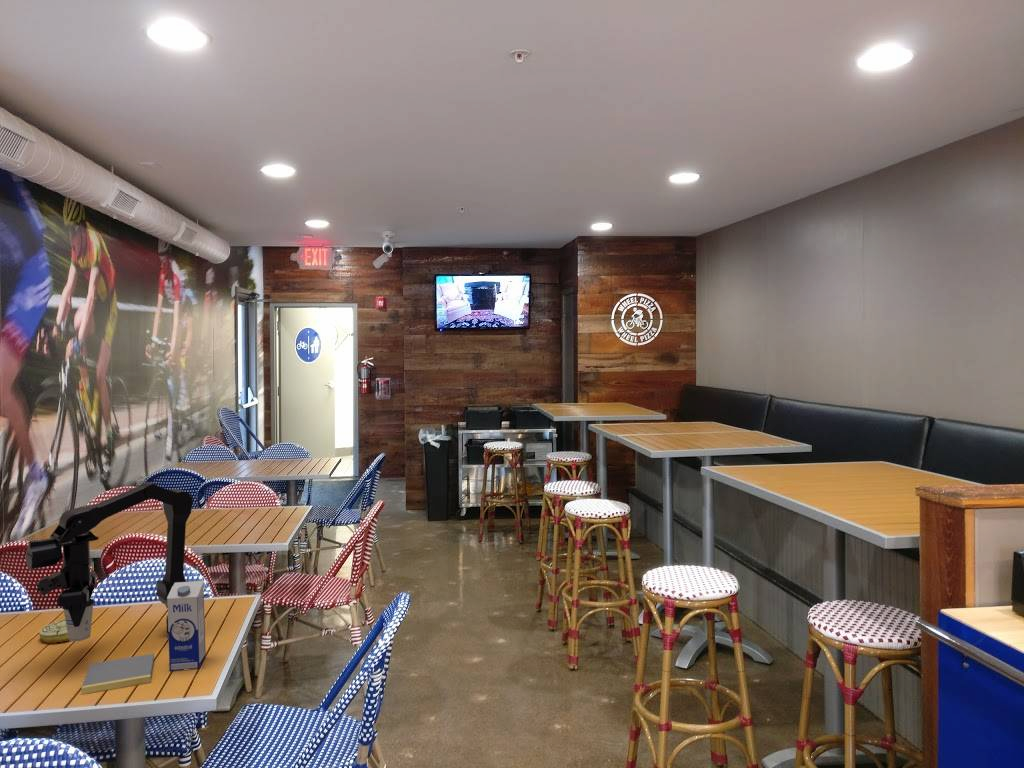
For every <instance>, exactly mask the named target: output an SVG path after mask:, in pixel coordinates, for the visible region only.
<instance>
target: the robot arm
mask: <svg viewBox="0 0 1024 768" xmlns="http://www.w3.org/2000/svg"><path fill="white" fill-rule="evenodd" d="M151 499H153V500H155V501H157V502H161V503H162V506H163V512H164V513H163V514H164V516H165V519H166V522H167V532H166V534H167V535H166V551H165V553H166V555H165V569H164V571H165V572H164V573H165V574H164V576H162V577H163V578H162V579H161V580H159V579H157V580H156V592H155V595H156V596H157V598H158V600H159V601H160V602H161V604H163V605H165V607H166V609H168V605H167V597H168V595H169V592H170V590H171V588H172V586H173V585H174V583H177V582H187V580H186V577H185V574H184V573H185V572H184V569H185V552H186V551H185V549H186V530H187V527H186V525H187V521H188V520H189V518H190V515H191V513H192V510H193V505H194V497H193V495H192V494H190V492H188V491H185V490H181V489H178V488H172V489H167V488H164V487H161V486H159V485H157V484H156V483H152V482H150V481H145V482H143V483H141V484H140V485H138V486H136V487H133V488H131V489H129V490H126V491H123V492H122V493H119V494H117V495H114V496H111V497H110V498H107V499H105V500H103V501H101V502H98V503H95V504H90V505H83V506H79V507H75V508H72V509H69V510H66V511H65V512H63V513H62V514H61V516H60V518H59V520H58V525H57V526H56V528H55V529H54V530H53V531H52V533H51V534H50V535H49V538H43V539H38V540H37V539H33V540H29V541H27V548H26V553H25V562H26V566H27V569H28V570H29V571H32V570H36V569H41V568H46V567H51V566H56V565H58V563H60V562H61V560H62V562H63V565H62V568H61V569H60V571H57V572H54V573H52V574H49V575H47V576H45V577H43V578H41V579H39V580H38V581H37V583H36V584H35V586H36V587H37V588H36V590H37V592H39V593H40V595H41V596H45V595H47V594H48V593H51V592H53V591H55V590H57V589H59V588H60V590H62V591H61V592H60V593H58V596H57V598H56V606H57V607H65V608H67V609H68V611H69V614H70V616H71V619H72V622H73V625H74V627H78V626H80V623H81V620H82V617H83V615H84V612H85V609H86V606H87V604H88V601H89V598H90V599H92V596H93V593H94V590H95V587H96V584H97V582H98V579H97V578H98V577H97V573H96V572H94V570H91V566H92V560H91V553H90V552H91V551H90V550H91V549H90V542H94V541H98V540H99V536H97V535H95V534H94V533H93V532H92V530H93V529H94V528H96V527H97V526H98V525H99V524H100V523H102V522H103V521H104V520H106V519H107V518H110V517H112V516H114V515H116V514H118V513H119V514H120V513H121V512H124V511H126V510H128V509H130V508H133V507H134V506H136V505H139V504H141V503H144V502H145V501H148V500H151ZM91 583H92V584H91ZM165 620H166V633H167V634H168V614H167V615H166V619H165Z"/></svg>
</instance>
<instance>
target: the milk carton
mask: <svg viewBox="0 0 1024 768" xmlns="http://www.w3.org/2000/svg"><path fill="white" fill-rule="evenodd" d="M204 585H205V581H204V580H198V581H197V580H196V581H186V582H177V583H174V585H173V586H172V588H171V590H170V592H169V595H168V597H167V605H168V608H167V615H168V633H167V634H168V659H169V660H168V664H169V665H168V666H169V667H168V668H169V672H174V670H178V671H185V670H184V669H190V670H194V669H193V668H199V667H201V666H202V664H203V663H204V661H205V659H206V658H205V657H206V623H205V622H206V620H205V619H206V618H205V595H204V594H205V591H204V589H205V588H204V587H205V586H204ZM203 660H204V661H203ZM202 662H203V663H202ZM200 665H201V666H200ZM199 669H200V668H199Z"/></svg>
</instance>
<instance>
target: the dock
mask: <svg viewBox="0 0 1024 768" xmlns="http://www.w3.org/2000/svg"><path fill="white" fill-rule="evenodd" d="M154 662H155V653H150V654H149V653H148V654H143V655H142V654H141V655H136V656H130V657H124V658H118V659H111V660H104V661H99V662H93V663H89V667H88V669H87V672H86V674H85V678H84V681H83V683H82V686H81V695H87V694H88V695H89V694H92V693H98V692H105V691H109V690H116V689H121V687H122V688H127V686H128V687H133V686H139V685H145V684H149V683H151V682H152V676H153V670H152V669H154V664H155V663H154ZM132 685H133V686H132Z"/></svg>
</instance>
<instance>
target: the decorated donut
mask: <svg viewBox="0 0 1024 768" xmlns="http://www.w3.org/2000/svg"><path fill="white" fill-rule="evenodd" d="M38 634H39V638H40V640H42V642H43V643H47V644H58V643H57V642H61V643H64V642H63V641H67V640H69V636H68V631H67V626H66V620H65V619H63V620H60V621H55V622H51V623H49V624H47V625H44V626H43V627H42V628H41V629H40V631H39V632H38ZM67 642H68V641H67Z"/></svg>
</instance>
